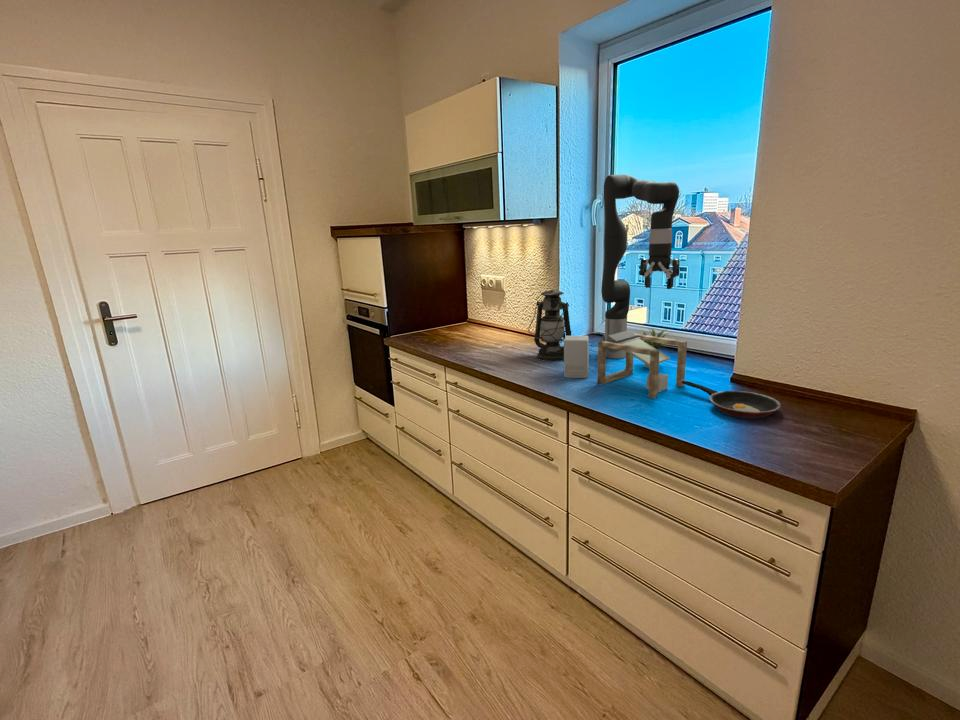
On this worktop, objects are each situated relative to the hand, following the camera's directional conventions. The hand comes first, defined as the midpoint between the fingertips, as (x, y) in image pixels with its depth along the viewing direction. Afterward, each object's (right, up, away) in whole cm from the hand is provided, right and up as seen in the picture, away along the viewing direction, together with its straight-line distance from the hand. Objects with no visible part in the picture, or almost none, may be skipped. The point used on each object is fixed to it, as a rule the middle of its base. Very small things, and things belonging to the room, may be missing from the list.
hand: (658, 288), depth 173 cm
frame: (-7, -35, -1) cm, 36 cm away
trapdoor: (-9, -25, -1) cm, 27 cm away
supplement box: (-27, -32, +14) cm, 44 cm away
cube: (-4, -33, -5) cm, 34 cm away
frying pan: (+12, -40, -23) cm, 48 cm away
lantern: (-33, -25, +40) cm, 58 cm away
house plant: (+6, -29, +20) cm, 36 cm away
